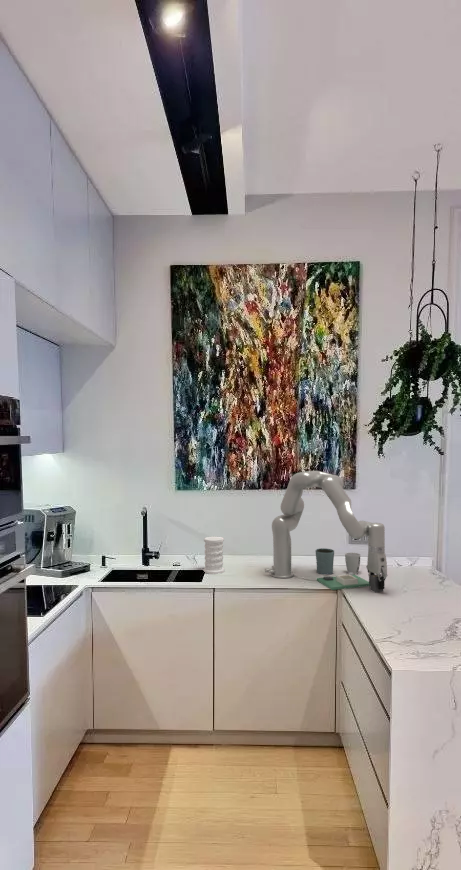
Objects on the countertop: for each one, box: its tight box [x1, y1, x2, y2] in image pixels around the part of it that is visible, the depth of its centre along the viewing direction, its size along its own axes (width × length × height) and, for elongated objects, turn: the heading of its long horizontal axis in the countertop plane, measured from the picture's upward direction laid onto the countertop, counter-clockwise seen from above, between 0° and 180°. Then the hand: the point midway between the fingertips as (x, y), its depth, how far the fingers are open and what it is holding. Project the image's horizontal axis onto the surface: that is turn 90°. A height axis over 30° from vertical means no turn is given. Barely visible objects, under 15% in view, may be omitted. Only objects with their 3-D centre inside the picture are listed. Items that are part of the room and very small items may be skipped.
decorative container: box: [202, 535, 226, 575], centre depth 261 cm, size 12×12×18 cm
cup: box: [344, 552, 361, 575], centre depth 257 cm, size 8×8×10 cm
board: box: [316, 572, 370, 591], centre depth 239 cm, size 22×16×4 cm
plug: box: [369, 574, 385, 593], centre depth 227 cm, size 5×4×7 cm
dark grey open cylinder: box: [315, 547, 335, 576], centre depth 258 cm, size 10×10×12 cm
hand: (376, 586), depth 227 cm, fingers open, 6 cm apart
